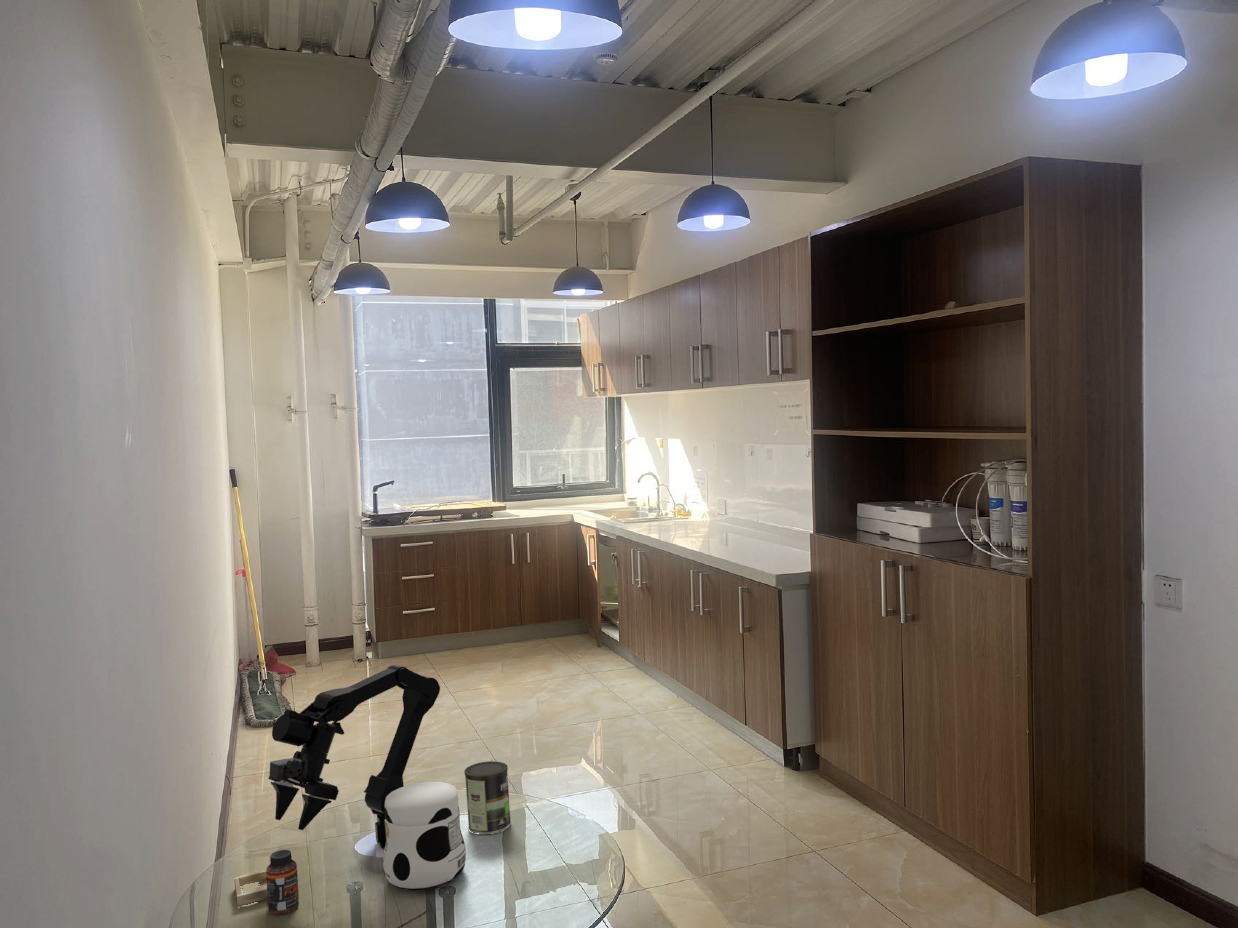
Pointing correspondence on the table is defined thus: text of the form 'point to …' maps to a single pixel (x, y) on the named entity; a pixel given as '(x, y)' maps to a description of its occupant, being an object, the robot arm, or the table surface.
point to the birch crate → (255, 895)
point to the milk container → (423, 836)
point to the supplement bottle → (282, 883)
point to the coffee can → (487, 797)
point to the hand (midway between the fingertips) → (288, 824)
